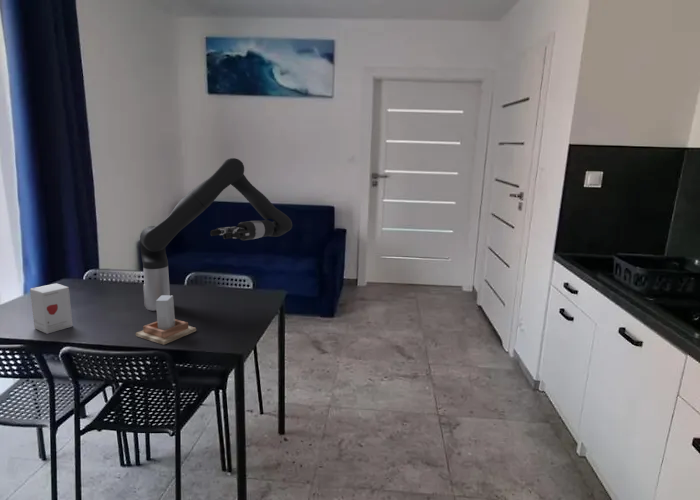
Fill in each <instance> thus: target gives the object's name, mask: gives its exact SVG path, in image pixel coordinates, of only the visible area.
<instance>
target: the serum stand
mask: <svg viewBox="0 0 700 500" xmlns="http://www.w3.org/2000/svg"><path fill="white" fill-rule="evenodd" d="M142 328H143V329H142V330H139V331H137V332H135V337H138V338H142V339H143V340H144V339H145V340H147V341H150V342H153V343H157V344H158V345H159V344H160V345H166V344H169V343H172V342H174V341H176V340H179V339H181V338H183V337H185V336H188V335H190V334H193V333H194V332H197V328H196V327H193V326H191V325H189V322H188V321H184V320H179V319H176V318H175V326H174V327H172V328H169V329H167V330H161V329H158V323H157V320H156V321H154V322H151V323H148V324H145V325H143V327H142Z"/></svg>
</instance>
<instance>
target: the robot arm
mask: <svg viewBox="0 0 700 500" xmlns="http://www.w3.org/2000/svg"><path fill="white" fill-rule="evenodd" d="M244 173H245V165H244V162H242V161H241V160H240V159H239V158H234V157H232V158H227V159H226V160H224V162H223V163H221V165H220V166H219V167H218V169H217V170H216V171H215V172H213V174H212V175H210V176H209V177H208V178H207V179H206V180H204V181H202V182H201V183H200V184H198V185H197V186H196V187H194V188H193V189H192V190H191V191H189V192H188V193H187V194H186V195H185V196H184V197H182V198H181V199H180V200H179V201H178V203H177V204H176V205H175V206H174V208H173V209H172V210H171V212H170V214H169V215H168V216H167V217H166V218H164V219H163V220H162V221H161V222H160V223H158V224H157V225H150V226H147V227H145V228H143V229H142V230H141V232H140V235H139V245H140V246H139V247H140V255H141V261H142V262H141V263H142V270H143V281H144V284H143V285H142V289H143V302H144V307H145V309H146V310H147V311H153V312H154V311H155V312H157V310H156V300H157V299H158V298H159V297H160V296H161V295H171V291H170V277H169V261H168V257H167V251H166V247H167V246H168V245H169V244H170V242H172V241H173V239H174V238H175V237H176V236H177V235H178V233H180V232H181V231H182V230H183V229H184V228H186V227H187V226H188V225H189V224H190V223H192V222H193V221H194V220H195V219H196V218H197V217H198V216H200V215H201V214H202V213H204V211H206V209H208V207H210V206H211V205H212V204H213V202H214V201H215V200H216V199H217V198H218V197H219V195H220V194H222V192H223V191H224V190H225V189H226V188H228V187H229V186H230V185H231V187H233V188H235V190H237V191H238V192H239V193H240V194H241V195H242V196H243V197H244V198H245V200H247V202H248V203H249V204H250V205H251V206H252V207H253V208H254V209H255V211H256V212H257V213H258V214H259V216H261V217H262V220H249V221H241V222H239V223H238V224H237V226H224V227H216V229H212V230H210V236H211V237H214V236H222V238H223V239H224V240H227V239H235V240H236V239H237V240H241V241H251V240H255V239H259V238H260V239H261V238H264V237H271V238H273V237H274V238H276V237H281V236H284V235H285V234H286V233H288V232H289V231H291V230H292V229H293V222H292V219H291V218H290V217H289V216H288V215H287V214H285V213H284V212H283V211H281V210H280V209H278V208H277V207H276V206H275V205H274V204H273V203H272V202H271V201H270V200H269V198H267V196H266V195H265V194H263V193H262V192H261V191H260V190H259V189H258V188H256V186H254V185H253V183H251V182H250V181H249V180H248V179H247V177H246V175H245V174H244ZM263 219H264V220H263ZM270 219H271V220H272V221H271V220H270Z"/></svg>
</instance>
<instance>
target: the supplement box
mask: <svg viewBox="0 0 700 500" xmlns="http://www.w3.org/2000/svg"><path fill="white" fill-rule="evenodd" d="M69 288H70V287H69V286H66V285H63V284H60V283H57V282H56V283H51V284H47V285H46V284H45V285H42V286H37V287H31V288H29V290H30V291H29V292H30V293H29V294H30V299H31V301H30V302H31V310H32V319H33V326H34V327H33V328H34V329H35V330H38V331H40V332H42V333H44V334H51V333H55V332H59V331H61V330H65V329H67V328H72V327H73V315H72V314H73V313H72V306H71V295H70V289H69Z"/></svg>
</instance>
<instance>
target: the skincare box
mask: <svg viewBox="0 0 700 500" xmlns="http://www.w3.org/2000/svg"><path fill="white" fill-rule="evenodd" d="M174 303H175V302H174V295H171V294H170V295H161V296H160V297H159V298H158V299H157V300H156V310H157V311H156V321H157V323H158V329H161V330H167V329H169V328H172V327H174V326H175V319H176V318H175V304H174Z"/></svg>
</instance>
